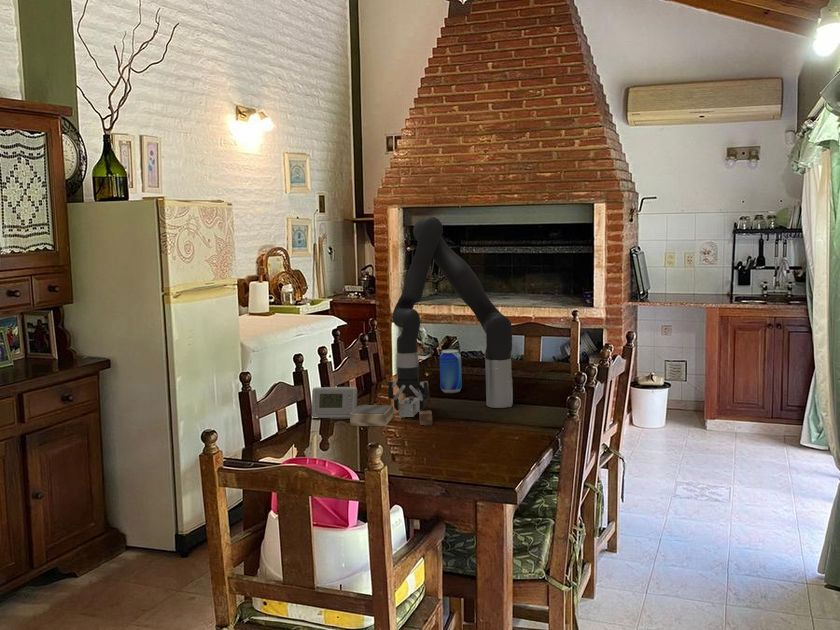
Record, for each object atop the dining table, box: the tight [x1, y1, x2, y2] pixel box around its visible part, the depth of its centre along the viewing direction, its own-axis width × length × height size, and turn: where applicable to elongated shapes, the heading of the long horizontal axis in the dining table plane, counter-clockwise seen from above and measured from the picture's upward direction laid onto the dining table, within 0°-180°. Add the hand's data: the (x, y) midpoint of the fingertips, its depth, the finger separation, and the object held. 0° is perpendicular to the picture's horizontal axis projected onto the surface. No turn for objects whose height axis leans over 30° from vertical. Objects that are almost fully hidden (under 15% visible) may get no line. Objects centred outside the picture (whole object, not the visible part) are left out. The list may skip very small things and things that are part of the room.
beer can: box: [439, 349, 463, 394], centre depth 305 cm, size 8×8×16 cm
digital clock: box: [311, 386, 358, 420], centre depth 271 cm, size 16×9×11 cm, turn 72°
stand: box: [349, 404, 394, 427], centre depth 265 cm, size 12×12×4 cm
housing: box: [398, 396, 420, 418], centre depth 272 cm, size 5×9×6 cm, turn 165°
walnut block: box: [418, 410, 433, 426], centre depth 259 cm, size 4×4×4 cm
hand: (409, 410), depth 272 cm, fingers open, 8 cm apart
